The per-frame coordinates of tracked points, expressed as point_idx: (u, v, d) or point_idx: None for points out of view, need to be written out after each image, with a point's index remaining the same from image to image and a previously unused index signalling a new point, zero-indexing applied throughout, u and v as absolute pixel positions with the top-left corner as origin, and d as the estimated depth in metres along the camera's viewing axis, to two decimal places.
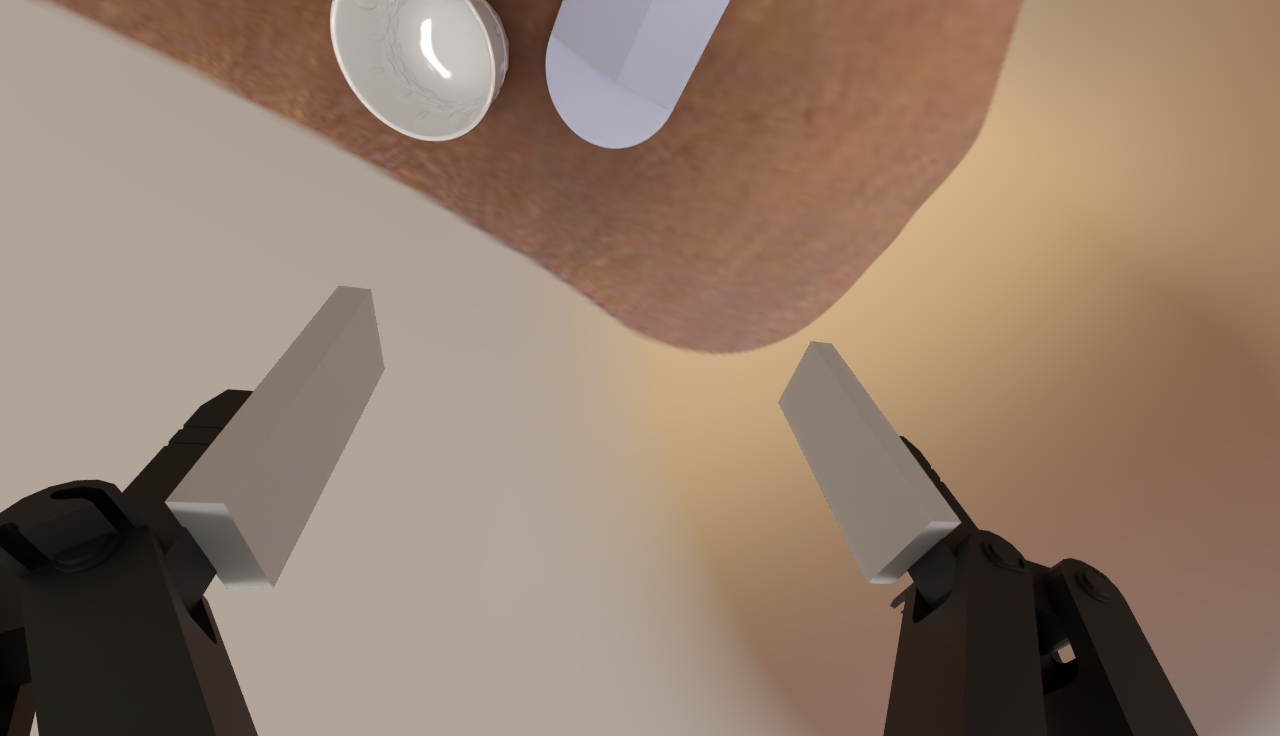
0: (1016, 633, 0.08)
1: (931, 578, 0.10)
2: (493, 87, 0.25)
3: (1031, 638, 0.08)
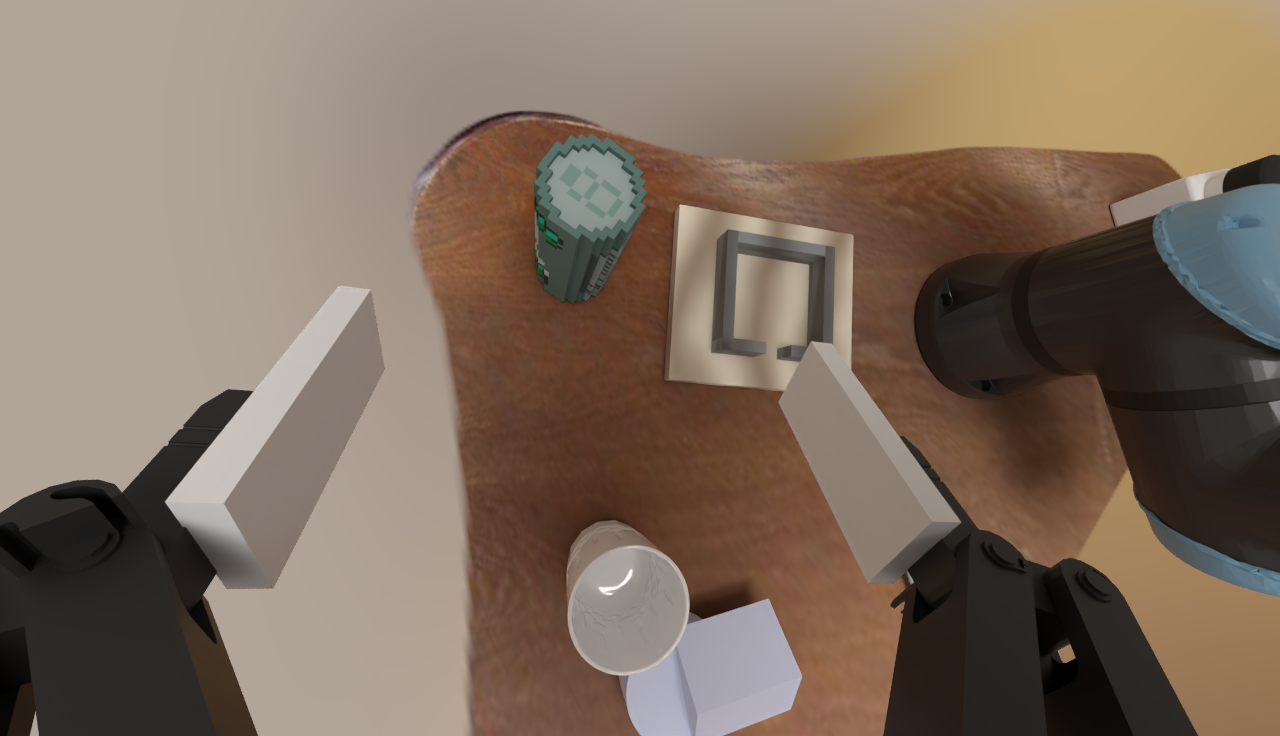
0: (1016, 633, 0.08)
1: (931, 578, 0.10)
2: (650, 668, 0.29)
3: (1031, 638, 0.08)
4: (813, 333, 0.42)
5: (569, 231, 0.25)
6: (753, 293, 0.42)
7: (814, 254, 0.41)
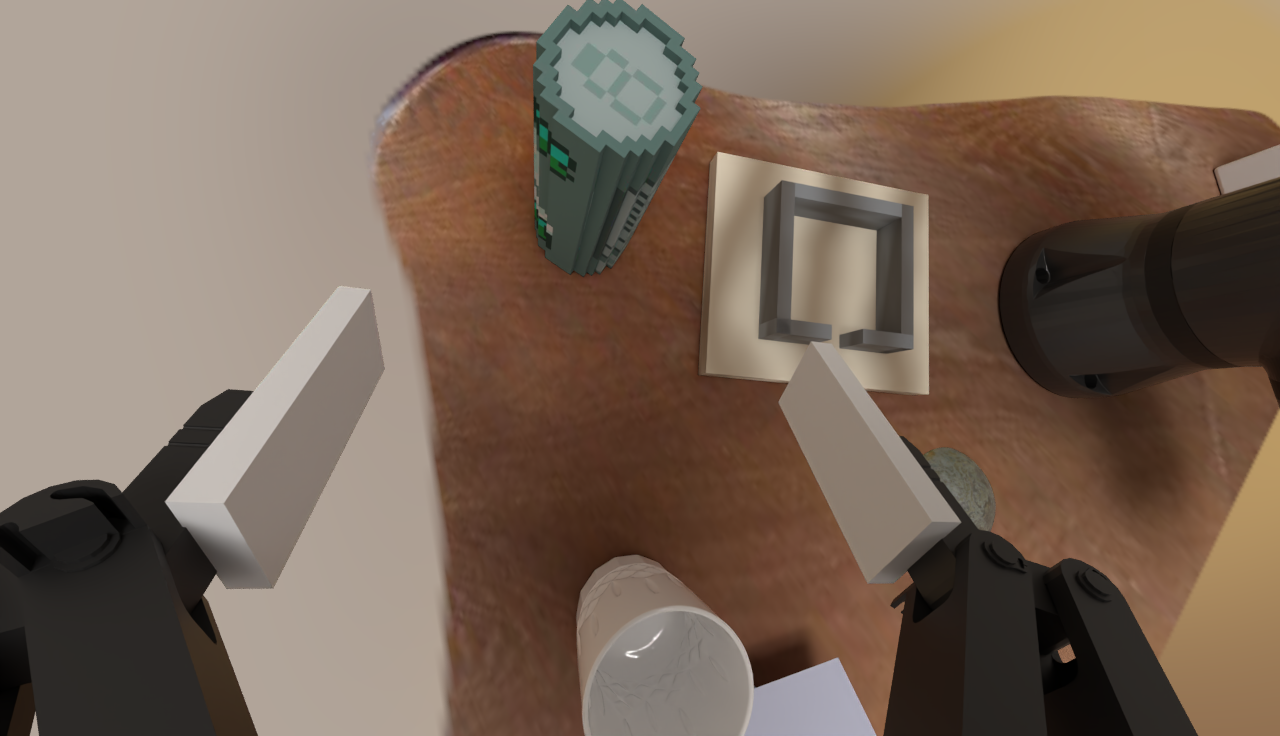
0: (1016, 633, 0.08)
1: (931, 578, 0.10)
2: None
3: (1031, 638, 0.08)
4: (885, 315, 0.33)
5: (587, 140, 0.17)
6: (809, 265, 0.34)
7: (888, 214, 0.33)
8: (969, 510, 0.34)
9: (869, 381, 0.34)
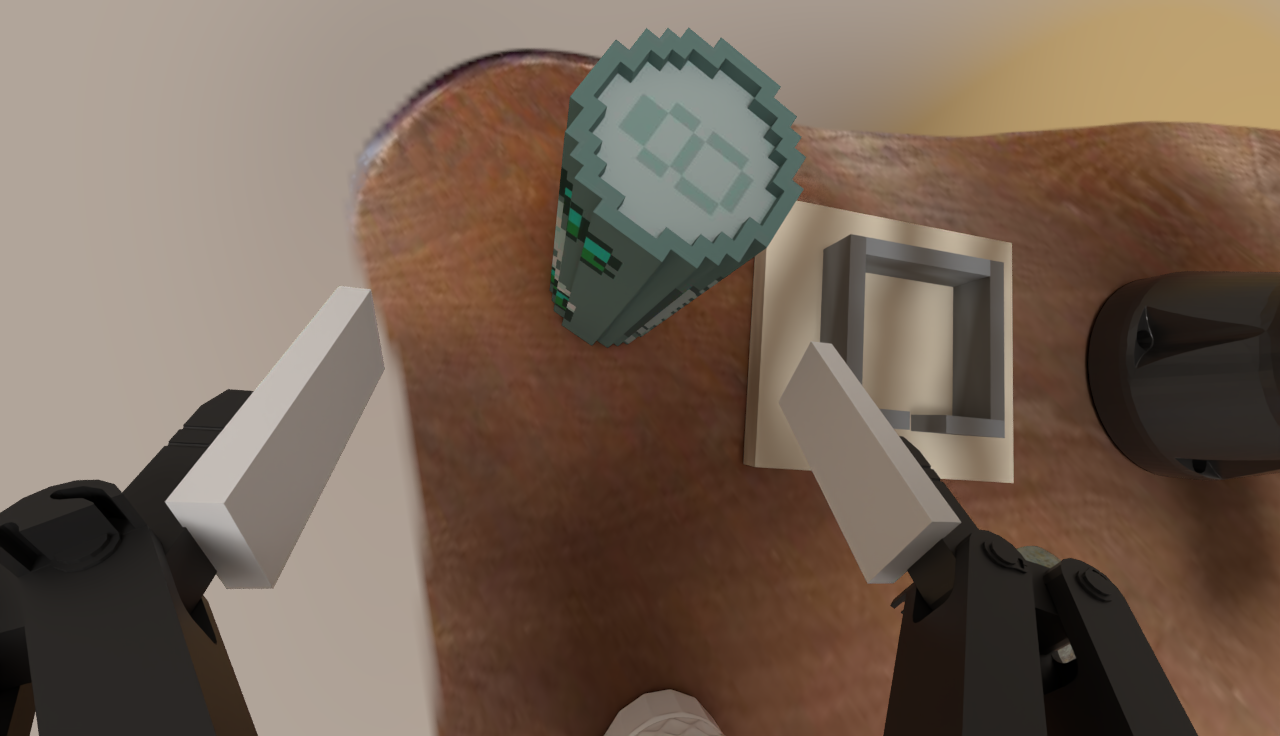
0: (1016, 633, 0.08)
1: (931, 578, 0.10)
2: None
3: (1031, 638, 0.08)
4: (966, 392, 0.28)
5: (644, 244, 0.11)
6: (876, 330, 0.28)
7: (975, 273, 0.27)
8: None
9: (945, 469, 0.28)
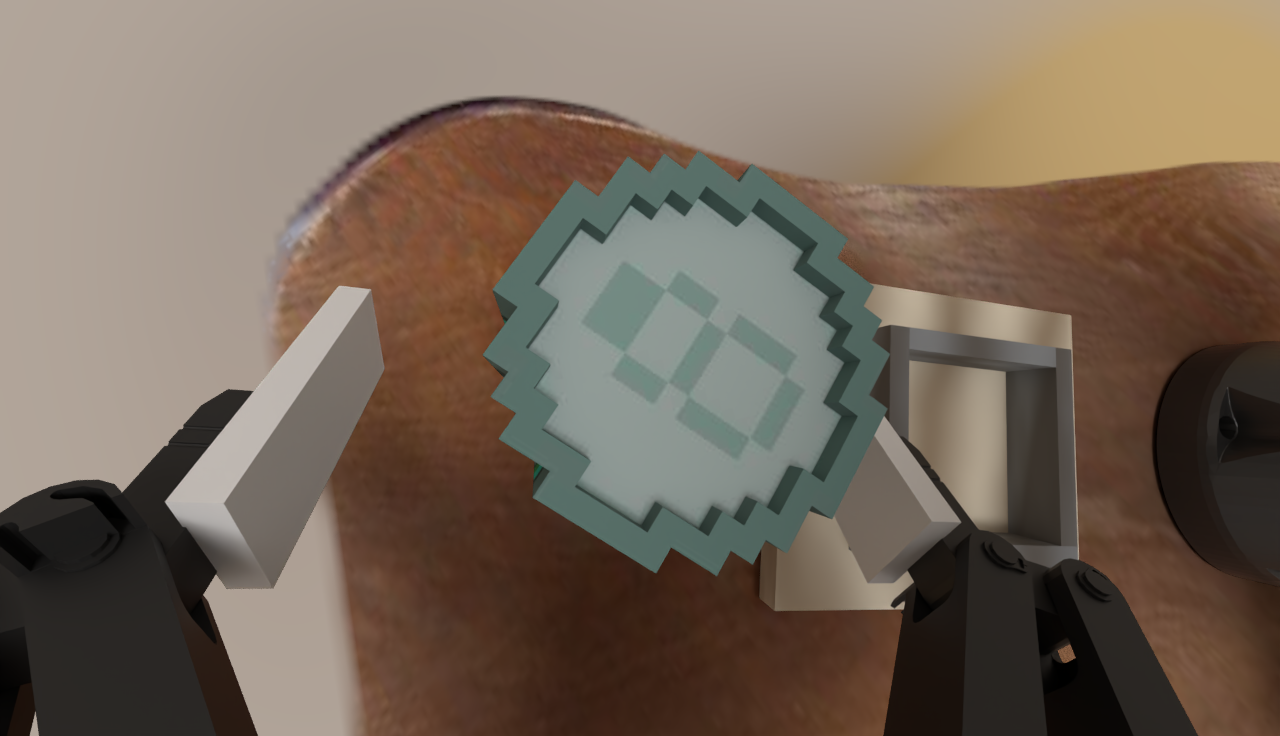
0: (1016, 633, 0.08)
1: (931, 578, 0.10)
2: None
3: (1031, 638, 0.08)
4: (1027, 504, 0.23)
5: (624, 544, 0.06)
6: (917, 430, 0.23)
7: (1038, 364, 0.22)
8: None
9: None
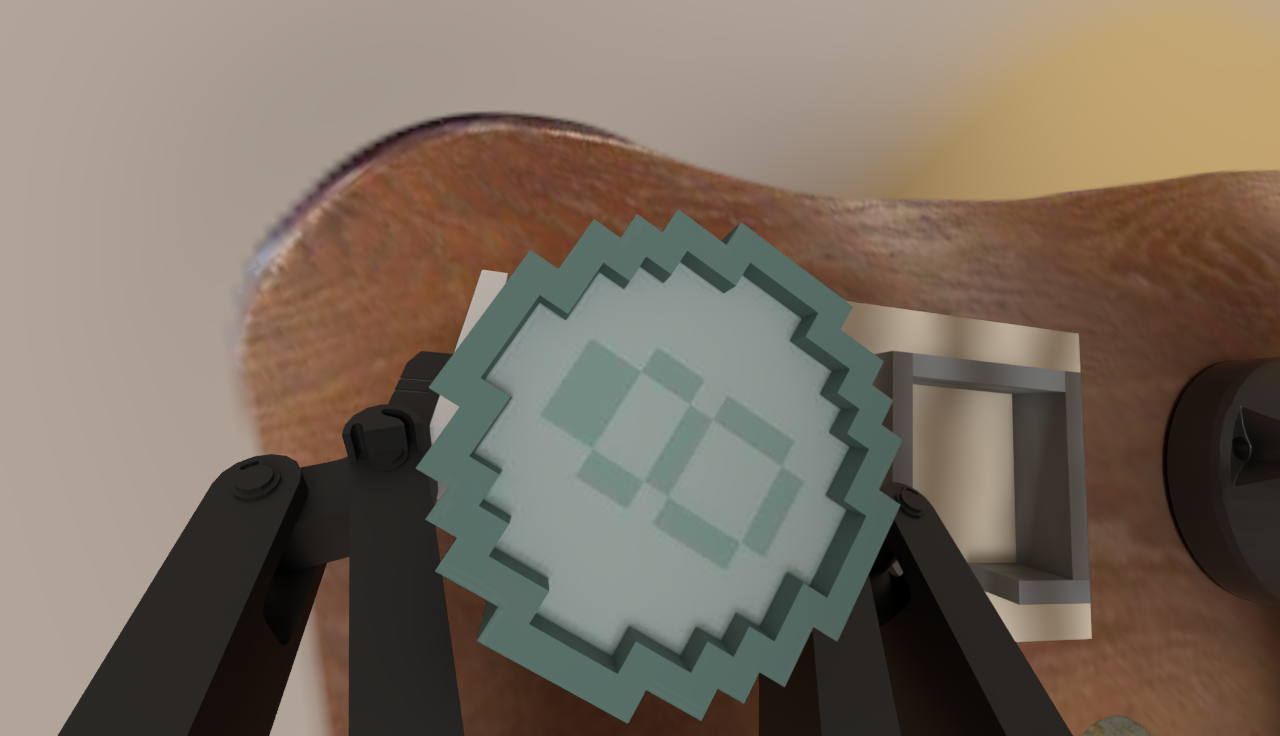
0: None
1: None
2: None
3: None
4: (1036, 534, 0.22)
5: (589, 691, 0.05)
6: (921, 457, 0.22)
7: (1047, 389, 0.21)
8: None
9: (1010, 630, 0.23)
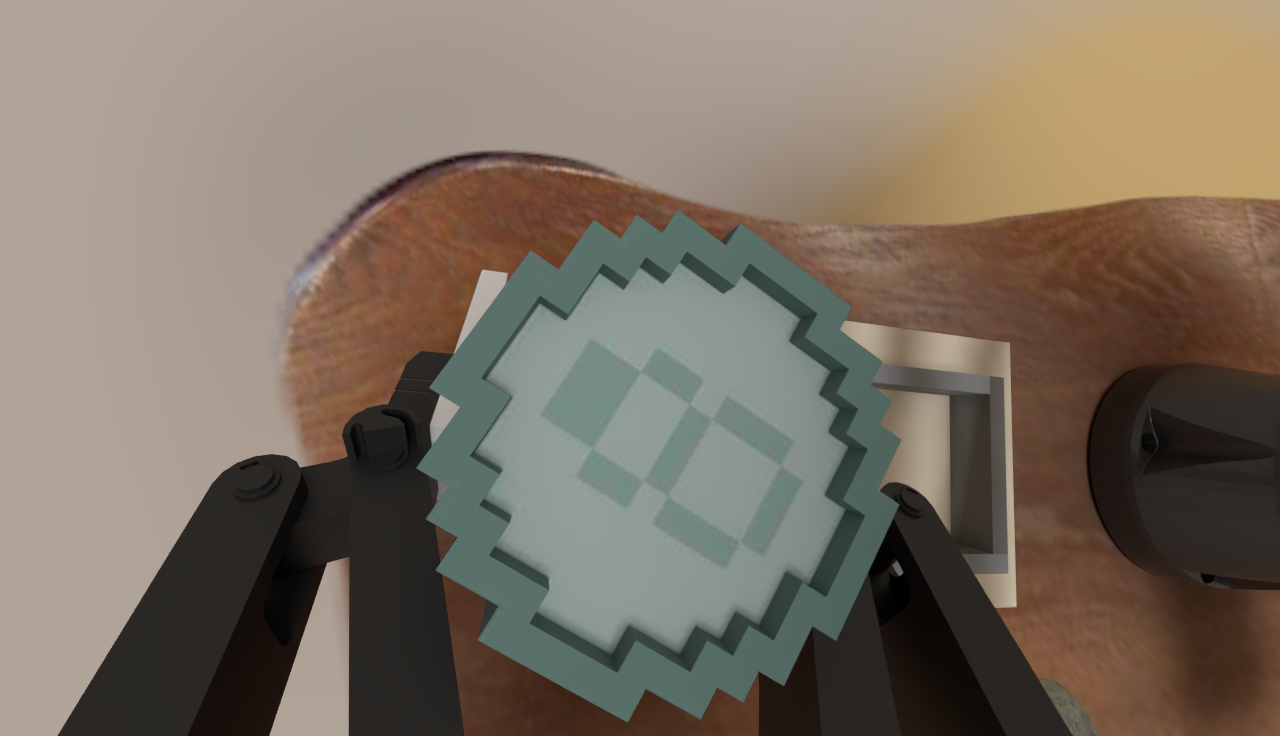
0: None
1: None
2: None
3: None
4: (966, 516, 0.26)
5: (589, 690, 0.05)
6: None
7: (974, 391, 0.25)
8: None
9: None
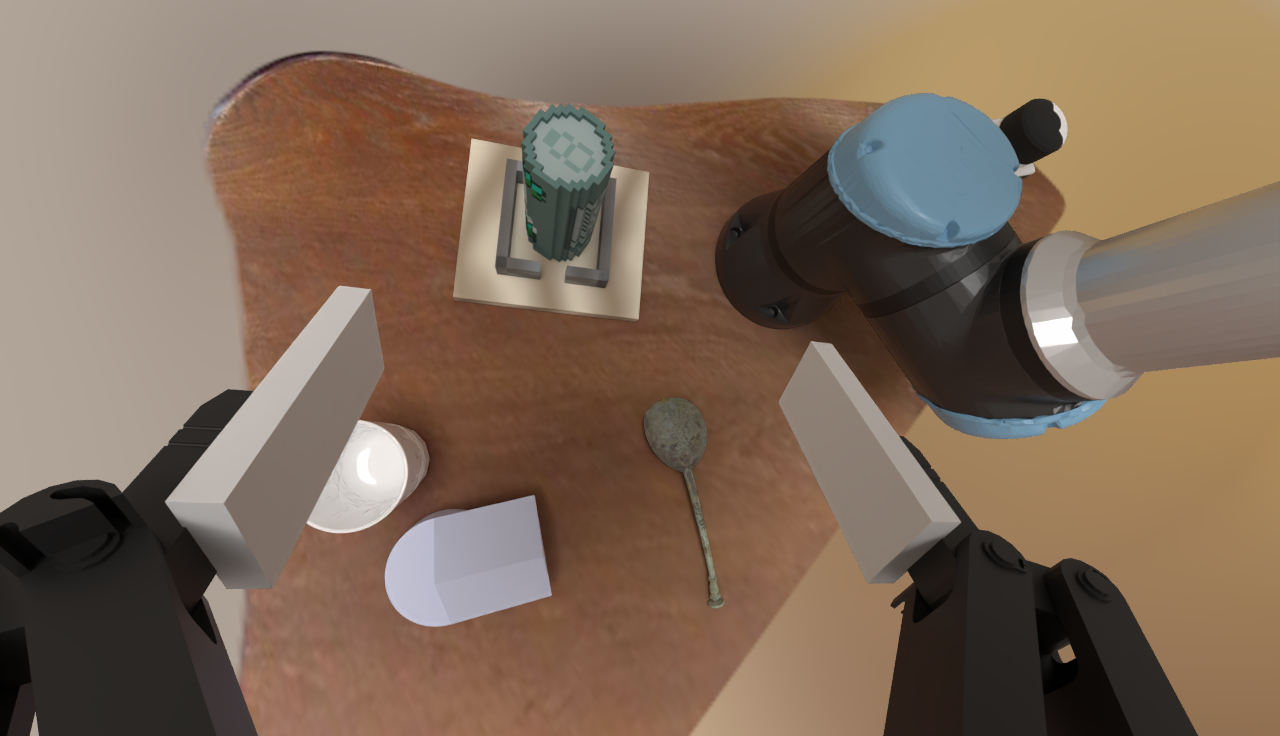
0: (1016, 633, 0.08)
1: (931, 578, 0.10)
2: (364, 528, 0.32)
3: (1031, 638, 0.08)
4: (598, 258, 0.46)
5: (550, 182, 0.31)
6: None
7: None
8: (677, 439, 0.46)
9: (588, 307, 0.46)
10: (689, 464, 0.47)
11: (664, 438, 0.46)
